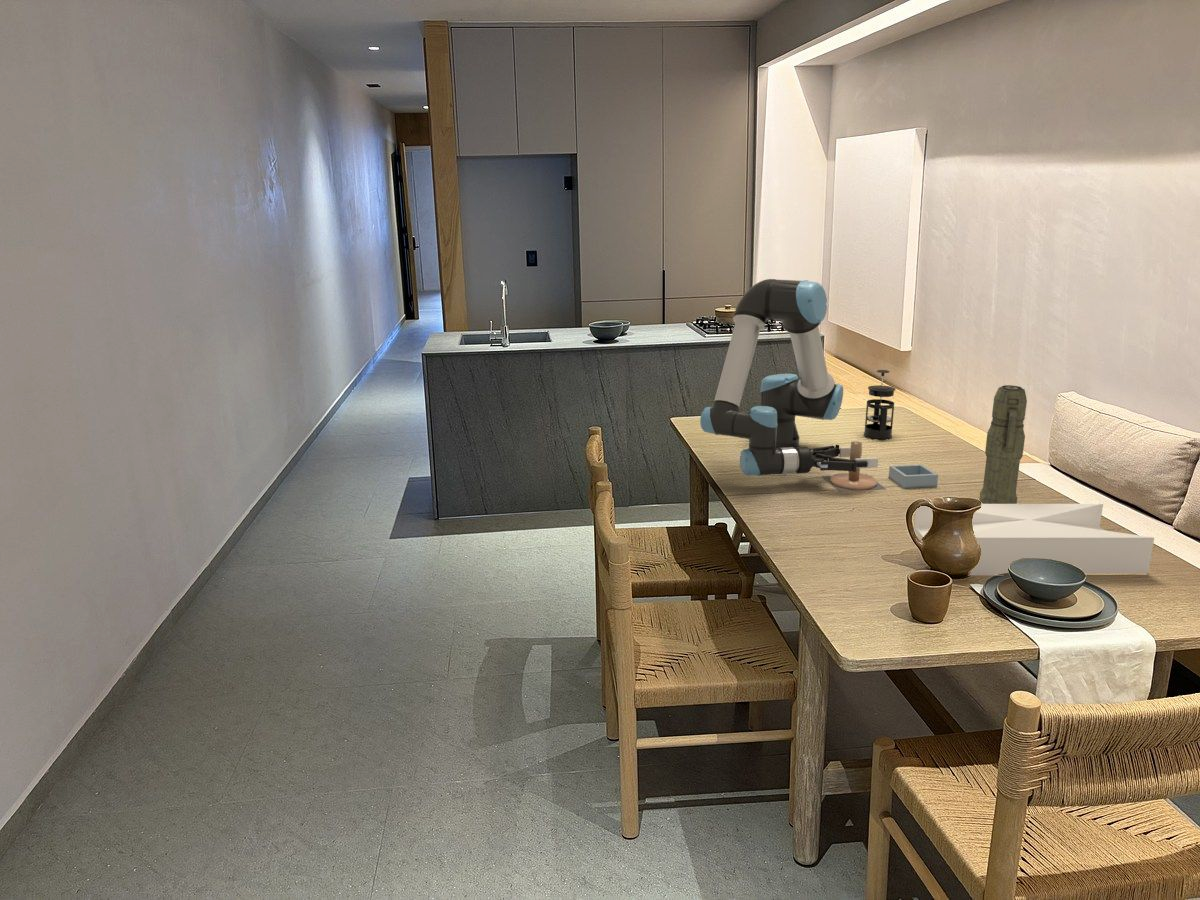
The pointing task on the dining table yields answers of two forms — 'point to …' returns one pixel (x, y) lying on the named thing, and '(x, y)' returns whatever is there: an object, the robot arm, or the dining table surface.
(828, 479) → the mat
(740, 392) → the robot arm
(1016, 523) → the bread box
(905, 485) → the dish
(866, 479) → the lid
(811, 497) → the dining table surface
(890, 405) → the french press
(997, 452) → the green carved statue
